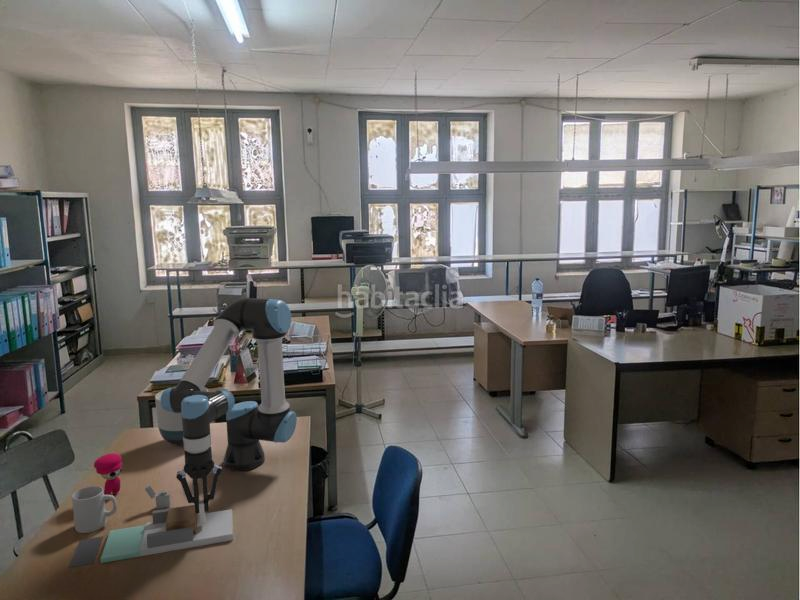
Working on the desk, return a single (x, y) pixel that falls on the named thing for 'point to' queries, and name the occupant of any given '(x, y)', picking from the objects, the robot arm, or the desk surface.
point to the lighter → (159, 497)
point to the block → (182, 518)
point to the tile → (123, 544)
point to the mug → (91, 509)
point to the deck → (185, 532)
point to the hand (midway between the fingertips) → (202, 521)
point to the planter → (170, 422)
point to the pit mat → (86, 552)
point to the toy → (109, 472)
